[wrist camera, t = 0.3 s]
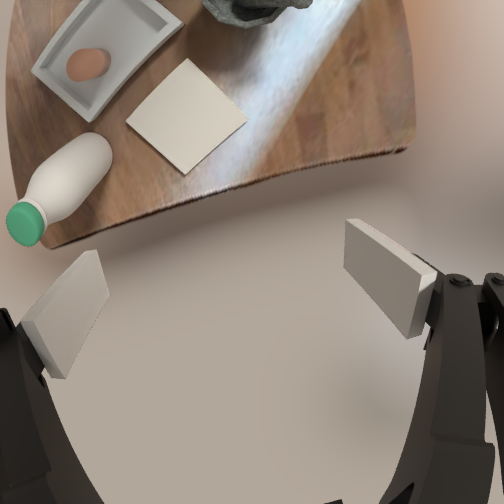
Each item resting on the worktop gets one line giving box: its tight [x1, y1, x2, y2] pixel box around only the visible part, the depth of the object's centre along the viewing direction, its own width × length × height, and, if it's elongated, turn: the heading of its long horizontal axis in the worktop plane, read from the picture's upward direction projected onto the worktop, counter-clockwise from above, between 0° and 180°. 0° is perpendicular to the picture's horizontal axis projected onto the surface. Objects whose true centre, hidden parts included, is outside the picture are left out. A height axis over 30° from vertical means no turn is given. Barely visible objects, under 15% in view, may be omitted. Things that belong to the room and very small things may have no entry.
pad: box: [126, 58, 249, 175], centre depth 35 cm, size 12×12×1 cm
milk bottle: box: [6, 132, 112, 246], centre depth 28 cm, size 8×8×20 cm
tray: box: [31, 0, 185, 123], centre depth 25 cm, size 18×14×2 cm
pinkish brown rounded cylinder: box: [66, 48, 111, 82], centre depth 25 cm, size 4×4×5 cm
